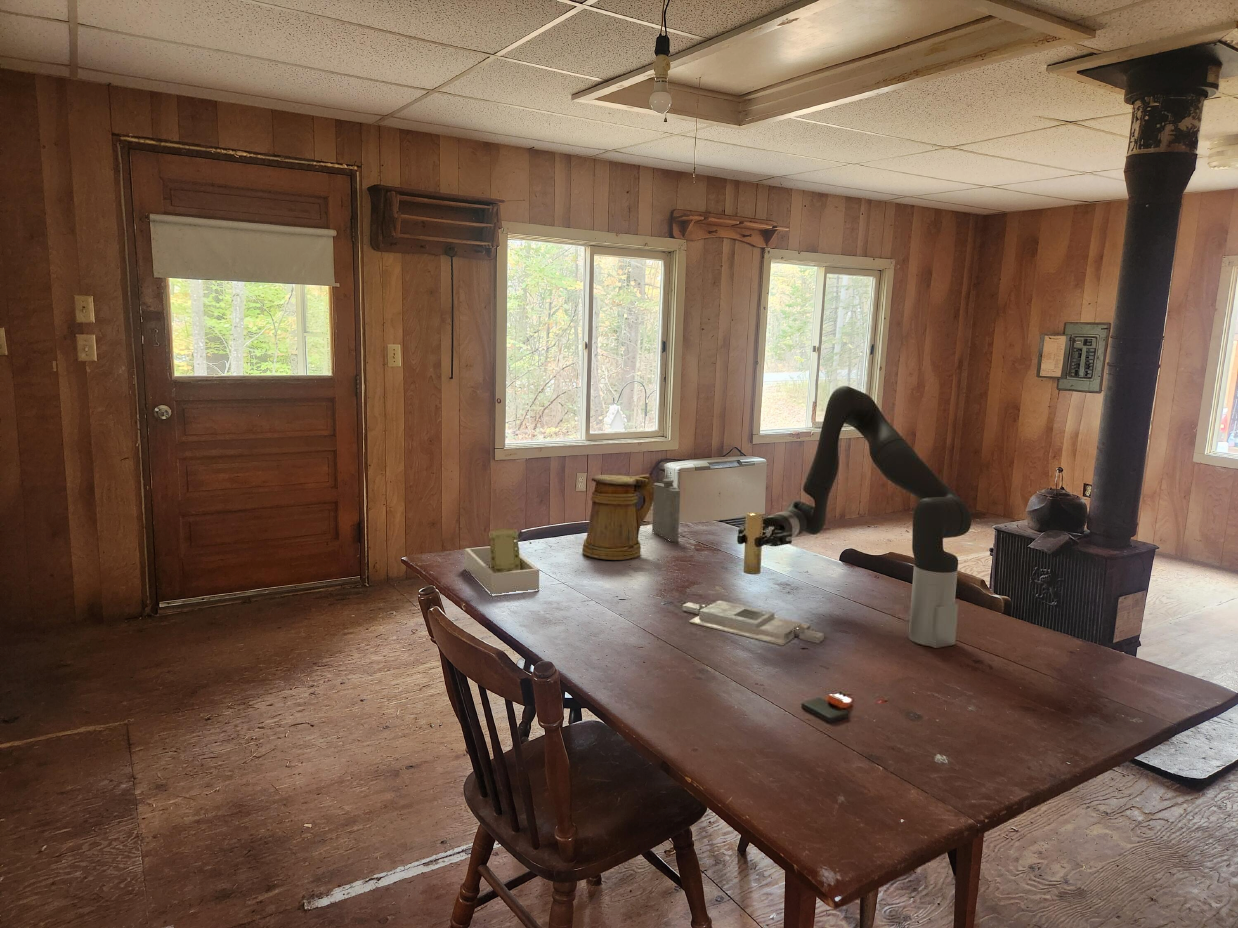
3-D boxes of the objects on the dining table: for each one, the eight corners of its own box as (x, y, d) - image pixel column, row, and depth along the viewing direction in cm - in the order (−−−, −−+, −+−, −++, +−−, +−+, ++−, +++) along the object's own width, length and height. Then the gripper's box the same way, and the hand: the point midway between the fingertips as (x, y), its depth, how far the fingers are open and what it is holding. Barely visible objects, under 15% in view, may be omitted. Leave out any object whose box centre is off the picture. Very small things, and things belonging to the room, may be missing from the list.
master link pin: (763, 573, 190) (766, 515, 188) (749, 575, 188) (752, 516, 186) (754, 568, 194) (757, 511, 191) (740, 570, 192) (742, 513, 190)
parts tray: (539, 591, 214) (539, 569, 213) (491, 596, 209) (491, 574, 208) (508, 564, 240) (508, 544, 239) (465, 568, 234) (464, 548, 233)
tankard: (573, 549, 259) (574, 472, 255) (638, 543, 269) (640, 469, 265) (596, 564, 242) (597, 482, 239) (664, 556, 253) (667, 478, 249)
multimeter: (855, 683, 161) (856, 666, 161) (901, 707, 151) (903, 690, 150) (784, 700, 153) (785, 683, 152) (827, 727, 142) (828, 709, 142)
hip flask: (650, 531, 286) (652, 476, 283) (660, 531, 287) (662, 475, 284) (671, 542, 271) (673, 483, 268) (682, 541, 273) (684, 483, 270)
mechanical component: (522, 596, 228) (517, 527, 233) (521, 591, 212) (516, 516, 216) (495, 599, 227) (490, 529, 232) (492, 594, 211) (487, 519, 215)
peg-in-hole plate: (833, 631, 189) (834, 621, 189) (807, 651, 176) (807, 641, 176) (701, 601, 209) (701, 592, 209) (668, 617, 196) (668, 607, 196)
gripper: (753, 509, 205) (721, 521, 191) (807, 517, 197) (777, 530, 183) (752, 538, 206) (720, 552, 192) (805, 547, 198) (775, 562, 184)
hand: (748, 541), depth 187 cm, fingers closed on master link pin, 4 cm apart
